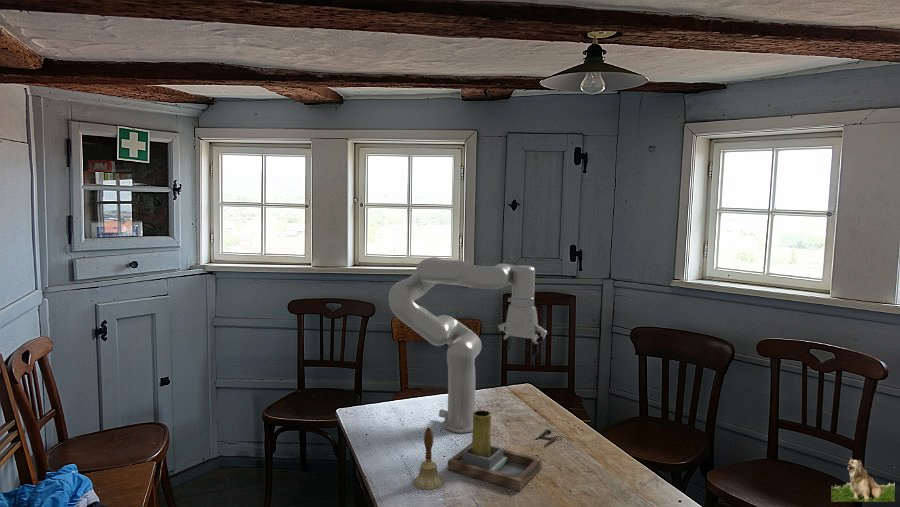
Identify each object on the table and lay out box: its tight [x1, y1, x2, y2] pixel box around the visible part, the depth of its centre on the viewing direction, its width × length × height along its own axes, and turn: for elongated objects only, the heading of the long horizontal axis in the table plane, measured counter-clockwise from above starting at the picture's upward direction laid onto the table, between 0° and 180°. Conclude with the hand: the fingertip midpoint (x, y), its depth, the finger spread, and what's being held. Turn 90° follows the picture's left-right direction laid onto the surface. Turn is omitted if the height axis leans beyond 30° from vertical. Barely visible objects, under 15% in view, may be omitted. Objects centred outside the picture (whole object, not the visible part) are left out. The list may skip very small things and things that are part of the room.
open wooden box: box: [447, 442, 543, 492], centre depth 169 cm, size 23×16×3 cm
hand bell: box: [413, 427, 444, 491], centre depth 161 cm, size 8×8×16 cm
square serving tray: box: [461, 444, 508, 471], centre depth 171 cm, size 11×12×4 cm
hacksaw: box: [534, 429, 563, 449], centre depth 186 cm, size 24×10×2 cm, turn 144°
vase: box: [471, 409, 492, 458], centre depth 171 cm, size 6×6×14 cm
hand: (521, 352), depth 193 cm, fingers open, 9 cm apart
